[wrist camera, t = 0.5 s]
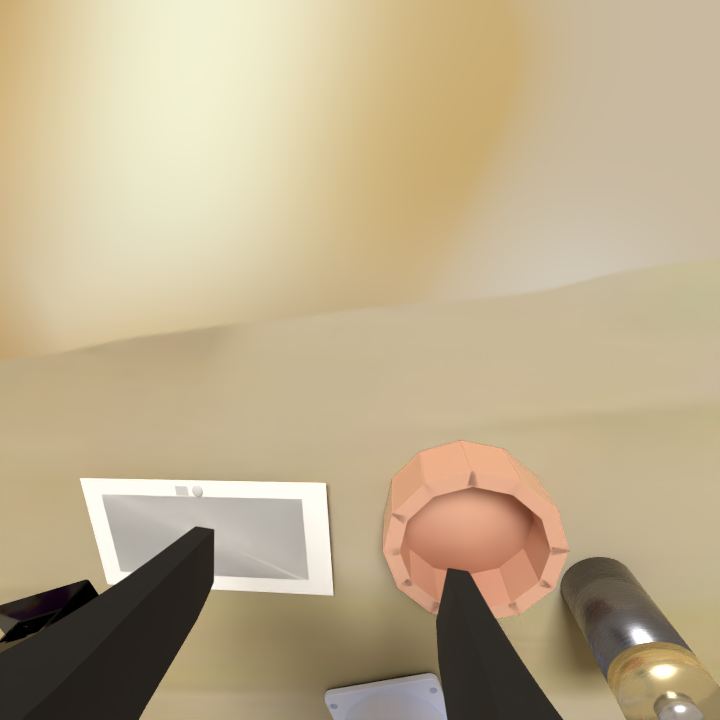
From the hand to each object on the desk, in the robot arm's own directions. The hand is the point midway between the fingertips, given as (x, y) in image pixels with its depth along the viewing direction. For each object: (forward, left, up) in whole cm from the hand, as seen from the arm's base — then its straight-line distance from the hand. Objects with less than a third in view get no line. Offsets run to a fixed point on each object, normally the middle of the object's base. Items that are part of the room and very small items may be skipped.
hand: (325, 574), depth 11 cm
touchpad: (-3, +11, -10) cm, 15 cm away
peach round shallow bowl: (-6, -4, -9) cm, 12 cm away
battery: (-13, -10, -9) cm, 19 cm away
